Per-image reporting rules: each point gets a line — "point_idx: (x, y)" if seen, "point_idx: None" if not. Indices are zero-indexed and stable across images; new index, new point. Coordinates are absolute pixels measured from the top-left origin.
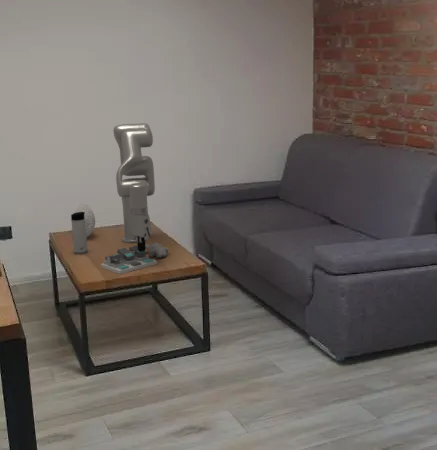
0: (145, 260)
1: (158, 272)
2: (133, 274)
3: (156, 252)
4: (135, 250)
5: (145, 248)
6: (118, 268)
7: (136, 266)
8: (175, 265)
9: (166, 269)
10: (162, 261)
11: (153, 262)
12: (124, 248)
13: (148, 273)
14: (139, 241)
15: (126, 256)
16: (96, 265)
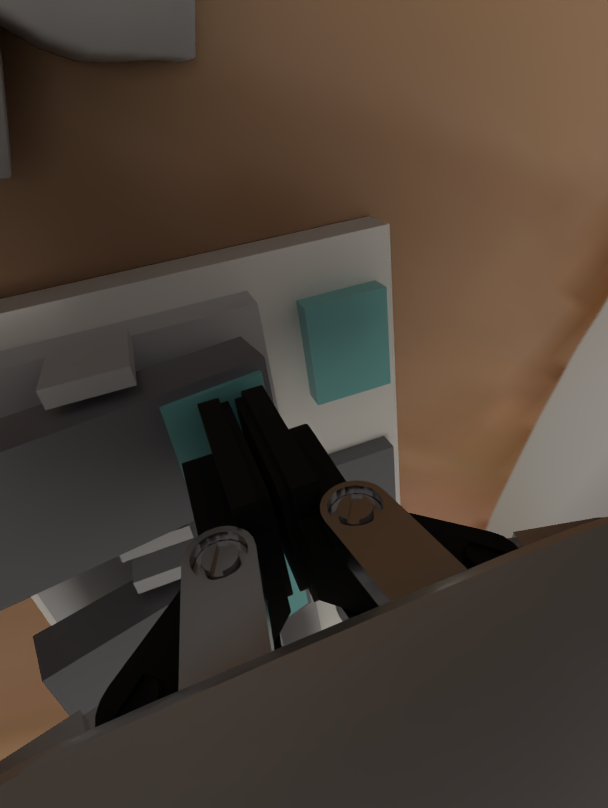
0: (350, 381)
1: (580, 325)
2: (463, 507)
3: (94, 51)
4: (171, 523)
5: (267, 397)
6: None
7: (398, 484)
8: (578, 30)
9: (585, 218)
10: (316, 82)
11: (386, 280)
12: (72, 679)
13: (532, 406)
14: (287, 602)
15: (292, 613)
16: (37, 727)
